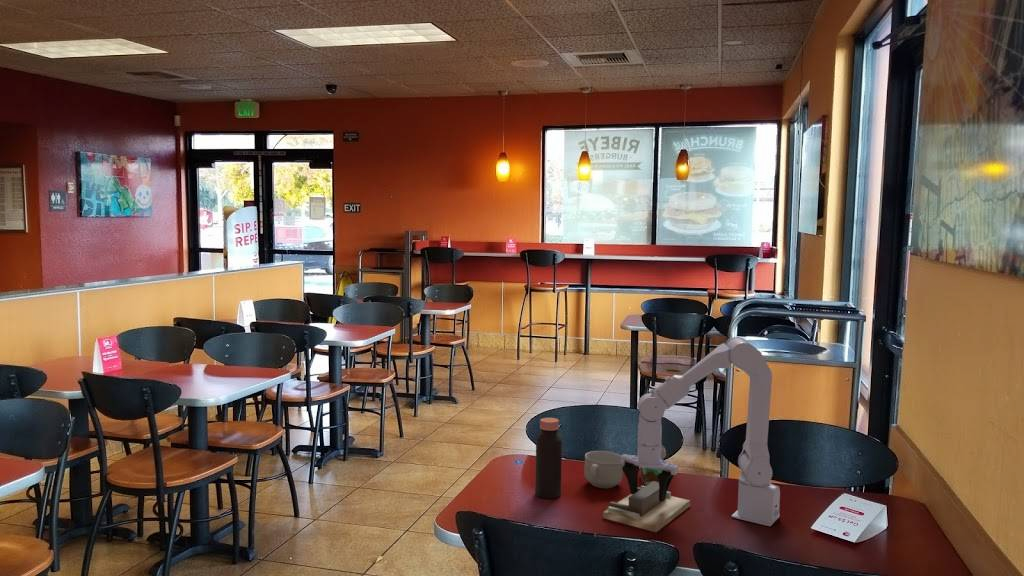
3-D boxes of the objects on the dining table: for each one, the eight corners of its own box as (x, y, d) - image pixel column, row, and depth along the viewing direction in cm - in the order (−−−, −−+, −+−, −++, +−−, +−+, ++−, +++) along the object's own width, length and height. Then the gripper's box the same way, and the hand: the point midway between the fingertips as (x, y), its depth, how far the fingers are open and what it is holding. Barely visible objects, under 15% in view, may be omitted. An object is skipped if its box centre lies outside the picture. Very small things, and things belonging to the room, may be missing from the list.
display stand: (689, 506, 194) (690, 495, 194) (656, 532, 178) (656, 521, 178) (639, 493, 202) (639, 484, 202) (602, 517, 186) (603, 507, 186)
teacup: (598, 475, 217) (598, 447, 216) (631, 484, 210) (632, 455, 209) (569, 488, 206) (570, 459, 205) (603, 498, 199) (604, 468, 198)
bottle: (565, 497, 199) (566, 422, 197) (541, 500, 197) (542, 424, 195) (554, 488, 205) (555, 415, 203) (531, 491, 203) (532, 417, 201)
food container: (669, 489, 206) (670, 453, 205) (646, 489, 206) (647, 453, 205) (661, 474, 218) (662, 439, 217) (639, 473, 218) (640, 439, 217)
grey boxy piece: (665, 499, 195) (666, 484, 194) (641, 516, 183) (642, 500, 183) (635, 492, 200) (635, 477, 199) (609, 508, 188) (610, 492, 188)
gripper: (615, 441, 189) (614, 494, 191) (670, 452, 181) (668, 508, 182) (628, 435, 195) (627, 486, 196) (682, 445, 187) (680, 499, 188)
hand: (647, 496), depth 190 cm, fingers open, 7 cm apart
